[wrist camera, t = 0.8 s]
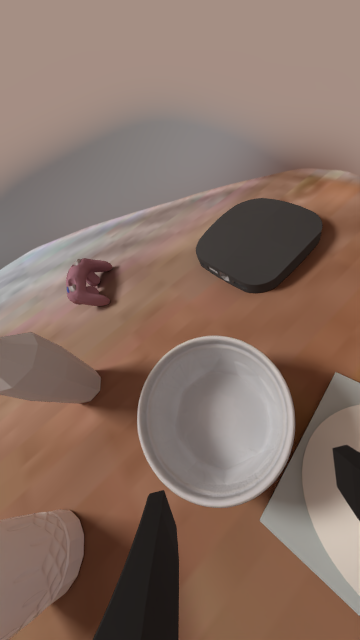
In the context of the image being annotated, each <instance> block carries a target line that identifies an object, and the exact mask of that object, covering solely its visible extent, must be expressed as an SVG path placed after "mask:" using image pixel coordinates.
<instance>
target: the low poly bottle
mask: <svg viewBox="0 0 360 640" xmlns="http://www.w3.org/2000/svg"><path fill="white" fill-rule="evenodd" d="M100 385H101V377H100V376H99V374H98V373H97V372H96V370H94V369H93V368H92V367H90V366H89V365H87V364H86V363H84V362H83V361H81V360H80V359H79V358H77V357H76V356H74V355H73V354H71V353H70V352H68V351H67V350H66V349H64V348H63V347H61V346H59V345H57V344H55V343H53V342H51V341H49V340H47V339H45V338H43V337H41V336H39V335H37V334H35V333H32V332H29V333H23V334H17V335H11V336H5V337H0V395H5V396H10V397H15V398H20V399H25V400H30V401H44V402H61V403H78V404H80V403H84V402H89V401H91V400H92V399H93V398H94V397H95V396H96V395H97V394H98V392H99V391H100Z"/></svg>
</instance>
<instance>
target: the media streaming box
mask: <svg viewBox="0 0 360 640" xmlns="http://www.w3.org/2000/svg"><path fill="white" fill-rule="evenodd" d="M321 231H322V221H321V219H320V217H319V216H318V215H317V214H316V213H314V212H312V211H310V210H308V209H306V208H303V207H301V206H298V205H295V204H292V203H288V202H284V201H280V200H274V199H266V198H258V199H252V200H248V201H245V202H242V203H240V204H238V205H236V206H234V207H233V208H231V209H230V210H229V211H227V212H226V213H225V214H223V215H222V216H221V217H220V218H219V219H218V220H217V221H216V222H215V223H214V224H213V225H212V226H211V227H210V228H209V229H208V230H207V231H206V232H205V233H204V235H203V236H202V237H201V238H200V240H199V241H198V244H197V247H196V254H197V257H198V259H199V262H200V264H201V266H202V267H203V268H205V269H206V270H208V271H209V272H211V273H212V274H214V275H216V276H217V277H219V278H221V279H222V280H224V281H226V282H227V283H229V284H231V285H233V286H235V287H237V288H239V289H241V290H243V291H245V292H249V293H262V292H266V291H269V290H271V289H273V288H275V287H277V286H278V285H279V284H280V283H281V282H282V281H283V280H284V279H285V278H286V277H287V276H288V275H289V274H290V273H291V272H292V271H293V270H294V269H295V268H296V267H297V266H298V265H299V264H300V263H301V262H302V261H303V260H304V259H305V258H306V257H307V256H308V255H309V253H310V252H311V251H312V250H313V249H314V248H315V247H316V245H317V244H318V243H319V240H320V236H321ZM215 273H216V274H215Z"/></svg>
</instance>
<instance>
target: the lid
mask: <svg viewBox="0 0 360 640" xmlns="http://www.w3.org/2000/svg"><path fill="white" fill-rule="evenodd" d="M343 445H348V446H350V447H352V448H353V449H355V450H356V451H358V452H360V404H359V405H355V406H351V407H348V408H345V409H343V410H340V411H338V412H336V413H334V414H333V415H331V416H329V417H328V418H327V419H325V420H324V421H323V422H322V423H321V424H320V425H319V426H318V427H317V428H316V429H315V431H314V432H313V434H312V435H311V437H310V439H309V441H308V443H307V446H306V448H305V451H304V456H303V460H302V471H301V472H302V487H303V494H304V499H305V503H306V506H307V510H308V513H309V516H310V519H311V521H312V524H313V526H314V529H315V531H316V533H317V535H318V537H319V539H320V541H321V543H322V545H323V547H324V548H325V550H326V552H327V553H328V555H329V557H330V558H331V560H332V562H333V563H334V564H335V566H336V567H337V569H338V570H339V571H340V573H341V574H342V575H343V577H344V578H345V580H346V581H347V582H348V583H349V584H350V585H351V587H352V588H353V589H354V590H355V591H356V592H357V594H358V595H359V596H360V521H359V520H358V518H357V517H356V515H355V514H354V512H353V511H352V509H351V508H350V506H349V505H348V503H347V502H346V500H345V499H344V497H343V496H342V494H341V492H340V491H339V489H338V488H337V484H336V475H335V467H334V458H333V449H332V448H335V447H339V446H343Z"/></svg>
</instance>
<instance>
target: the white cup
mask: <svg viewBox="0 0 360 640" xmlns="http://www.w3.org/2000/svg"><path fill="white" fill-rule="evenodd" d="M83 556H84V533H83V529H82V526H81V523H80V520H79V518H78V517H77V516H76V515H75V514H74V513H73V512H72V511H71V510H62V509H59V510H54V511H50V512H40V513H34V514H28V515H22V516H17V517H12V518H7V519H2V520H0V640H9V639H11V638H12V637H13V636H14V635H16V634H17V633H18V632H19V631H20V630H21V629H23V628H24V627H25V626H26V625H28V624H29V623H30V622H31V621H33V620H34V619H35V618H36V617H37V616H38V615H39V614H40V613H41V612H42V611H43V610H44V609H45V608H47V607H48V606H49V605H51V604H52V603H53V602H55V601H56V600H57V599H59V598H60V597H61V596H63V595H64V594H65V593H66V592H67V591H68V589H69V588H70V586H71V585H72V583H73V582H74V580H75V579H76V577H77V576H78V573H79V569H80V566H81V562H82V559H83Z"/></svg>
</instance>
